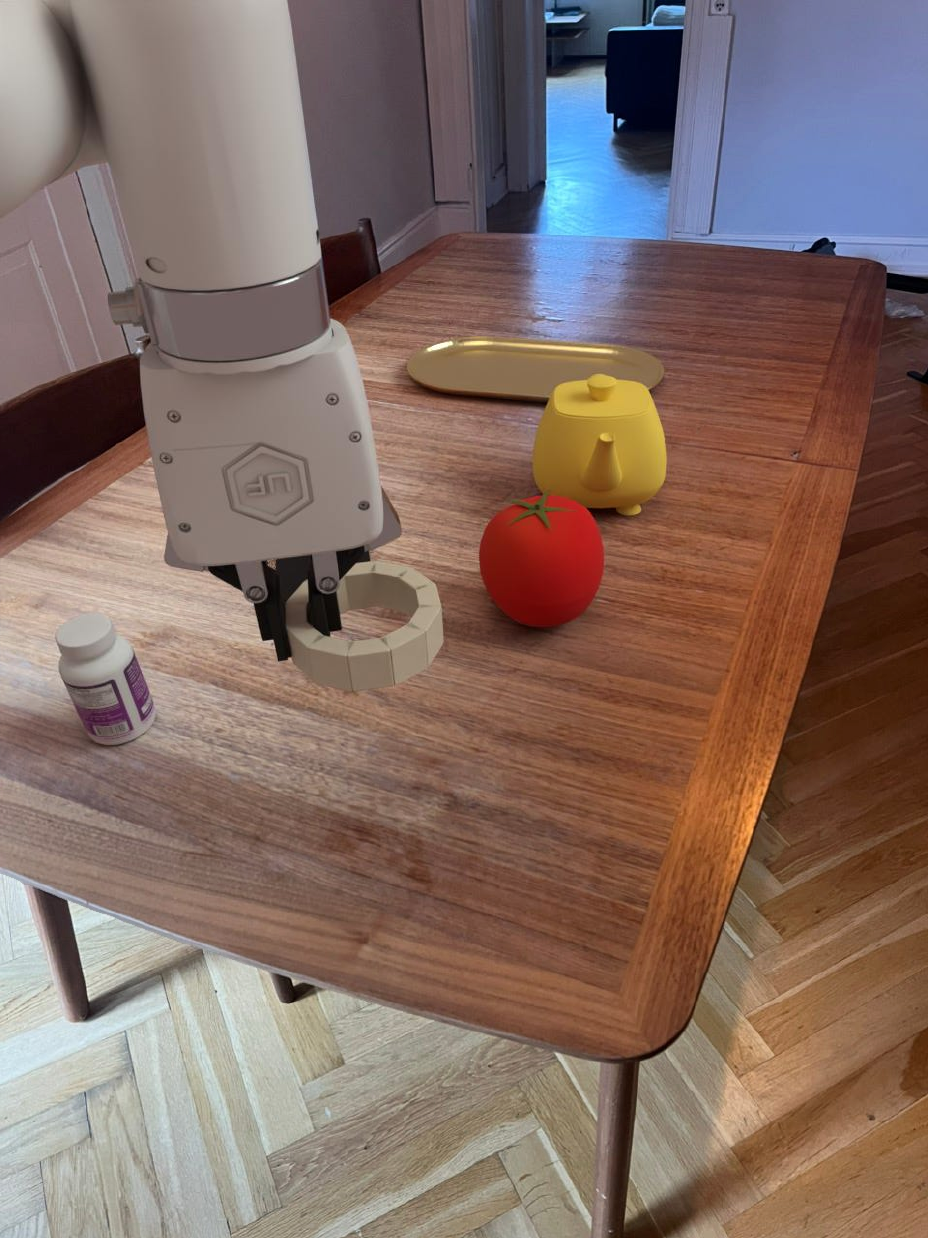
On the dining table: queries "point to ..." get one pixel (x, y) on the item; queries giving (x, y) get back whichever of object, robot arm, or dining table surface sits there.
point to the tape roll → (378, 656)
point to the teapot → (600, 444)
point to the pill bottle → (104, 680)
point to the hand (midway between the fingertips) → (304, 640)
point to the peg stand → (298, 571)
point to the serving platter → (525, 366)
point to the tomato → (542, 560)
